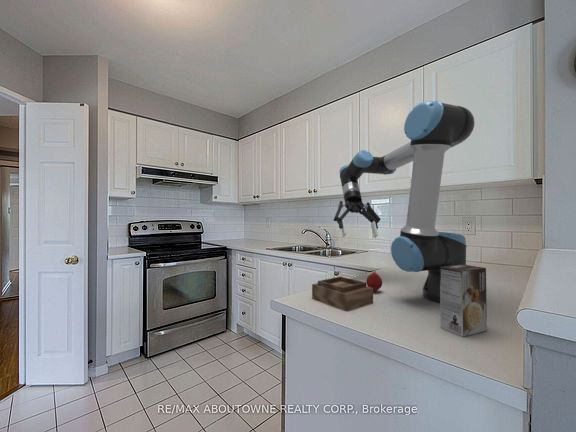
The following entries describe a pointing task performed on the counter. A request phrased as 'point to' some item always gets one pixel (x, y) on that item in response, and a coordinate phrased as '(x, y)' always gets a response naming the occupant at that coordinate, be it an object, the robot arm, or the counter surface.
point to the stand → (343, 293)
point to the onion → (374, 281)
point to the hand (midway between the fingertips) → (360, 235)
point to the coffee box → (463, 299)
